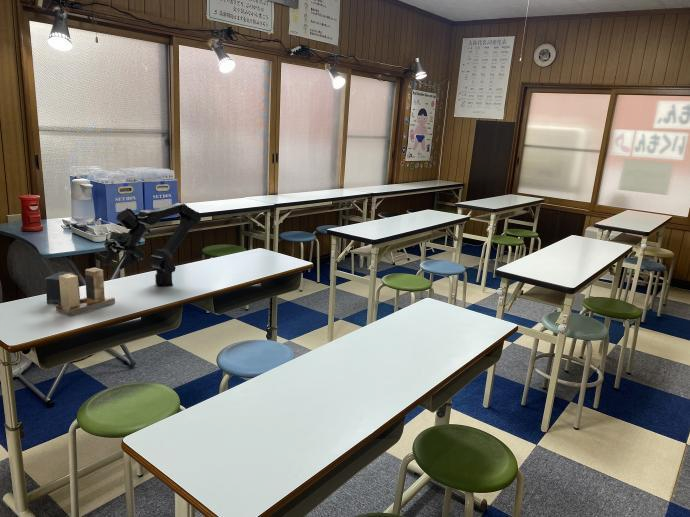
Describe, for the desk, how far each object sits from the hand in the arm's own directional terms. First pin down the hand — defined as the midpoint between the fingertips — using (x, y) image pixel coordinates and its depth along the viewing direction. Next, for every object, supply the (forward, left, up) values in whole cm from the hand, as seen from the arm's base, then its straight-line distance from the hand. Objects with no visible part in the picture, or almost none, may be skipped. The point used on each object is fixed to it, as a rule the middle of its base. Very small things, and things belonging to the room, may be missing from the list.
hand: (112, 266), depth 202 cm
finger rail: (+10, +7, -14) cm, 18 cm away
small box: (+19, -4, -14) cm, 24 cm away
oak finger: (+7, +5, -12) cm, 15 cm away
